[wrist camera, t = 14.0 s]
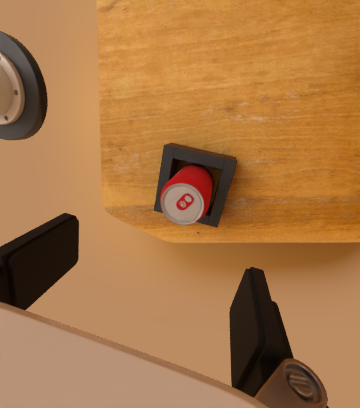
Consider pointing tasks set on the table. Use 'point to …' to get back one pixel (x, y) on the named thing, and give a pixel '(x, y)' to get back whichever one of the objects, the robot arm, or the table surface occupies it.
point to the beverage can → (187, 194)
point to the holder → (203, 158)
